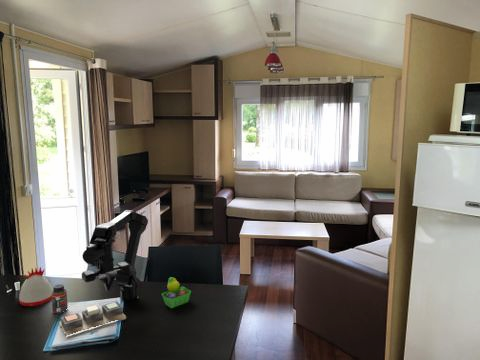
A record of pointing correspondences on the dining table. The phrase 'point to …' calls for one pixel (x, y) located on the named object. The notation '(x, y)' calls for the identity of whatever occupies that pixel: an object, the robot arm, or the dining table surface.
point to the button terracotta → (71, 318)
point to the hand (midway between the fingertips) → (107, 290)
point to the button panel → (92, 319)
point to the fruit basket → (175, 294)
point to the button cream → (92, 310)
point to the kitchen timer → (35, 289)
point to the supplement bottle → (59, 299)
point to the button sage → (111, 306)
